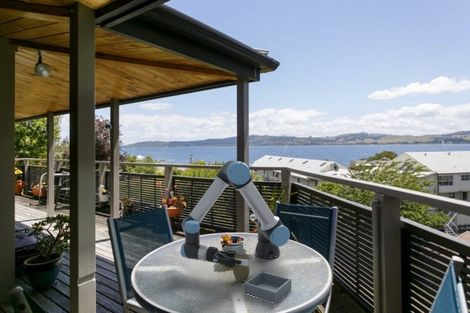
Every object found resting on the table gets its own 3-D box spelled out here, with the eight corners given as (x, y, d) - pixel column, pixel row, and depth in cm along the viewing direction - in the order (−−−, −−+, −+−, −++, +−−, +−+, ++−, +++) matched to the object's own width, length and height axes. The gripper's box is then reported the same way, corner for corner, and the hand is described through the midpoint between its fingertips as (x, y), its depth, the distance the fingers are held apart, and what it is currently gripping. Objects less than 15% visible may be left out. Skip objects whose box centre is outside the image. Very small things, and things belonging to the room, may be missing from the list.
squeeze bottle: (235, 283, 147) (235, 246, 146) (231, 276, 154) (230, 241, 154) (251, 281, 149) (251, 244, 148) (246, 274, 157) (246, 239, 156)
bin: (261, 281, 152) (261, 271, 151) (291, 289, 143) (291, 279, 142) (244, 294, 139) (244, 283, 139) (275, 304, 130) (275, 292, 130)
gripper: (217, 254, 168) (257, 261, 158) (199, 268, 150) (243, 276, 140) (217, 241, 167) (257, 246, 158) (198, 252, 150) (242, 259, 140)
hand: (250, 260), depth 149 cm, fingers closed on squeeze bottle, 6 cm apart
